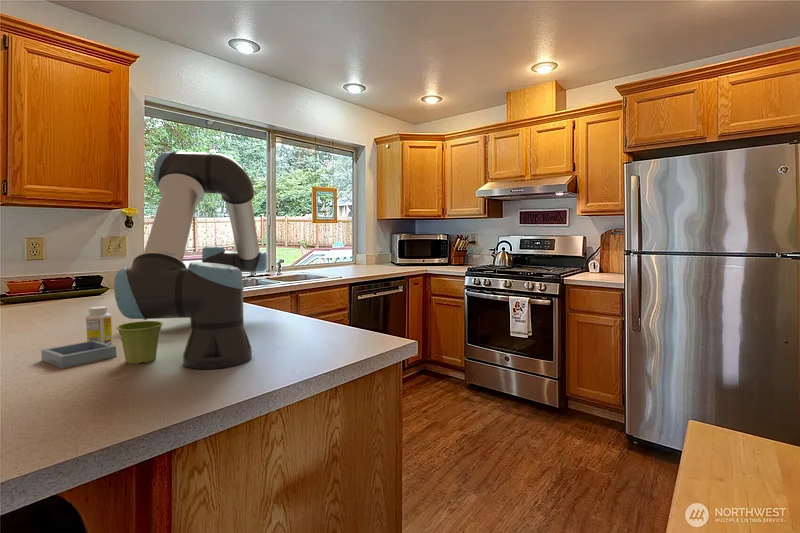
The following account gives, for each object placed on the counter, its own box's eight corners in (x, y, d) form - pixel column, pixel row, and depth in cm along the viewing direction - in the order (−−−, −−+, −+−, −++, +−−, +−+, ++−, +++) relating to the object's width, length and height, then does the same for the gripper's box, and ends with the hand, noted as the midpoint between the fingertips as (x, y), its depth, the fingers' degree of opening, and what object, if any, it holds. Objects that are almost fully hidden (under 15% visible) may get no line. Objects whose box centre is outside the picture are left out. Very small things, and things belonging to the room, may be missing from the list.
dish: (116, 356, 102) (116, 346, 102) (62, 368, 92) (61, 357, 92) (95, 350, 107) (94, 340, 107) (41, 360, 98) (41, 349, 98)
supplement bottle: (110, 340, 117) (108, 305, 116) (114, 344, 113) (112, 307, 112) (85, 344, 113) (84, 307, 113) (88, 348, 109) (86, 309, 109)
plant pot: (172, 355, 103) (171, 321, 102) (145, 367, 94) (144, 329, 93) (137, 354, 104) (136, 320, 103) (107, 365, 95) (106, 328, 94)
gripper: (221, 306, 138) (164, 318, 118) (166, 301, 147) (105, 311, 127) (220, 283, 137) (163, 292, 117) (165, 280, 146) (103, 287, 126)
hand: (133, 302), depth 122 cm, fingers open, 13 cm apart
